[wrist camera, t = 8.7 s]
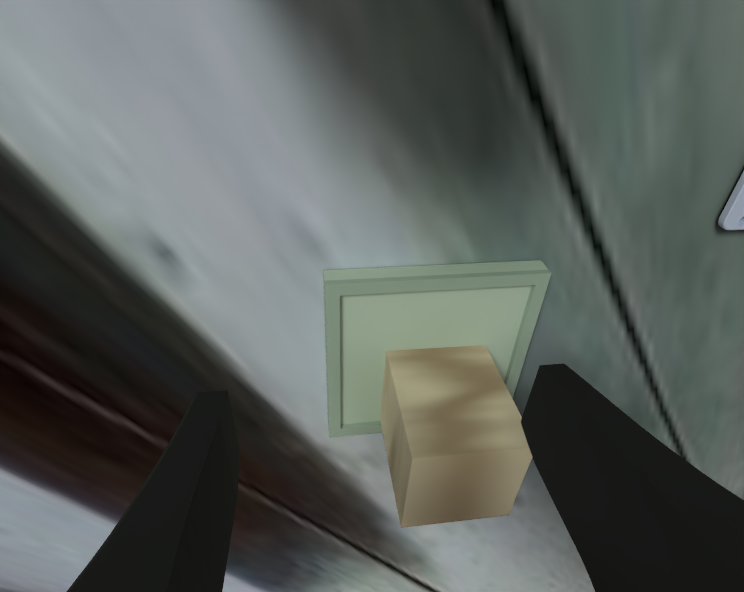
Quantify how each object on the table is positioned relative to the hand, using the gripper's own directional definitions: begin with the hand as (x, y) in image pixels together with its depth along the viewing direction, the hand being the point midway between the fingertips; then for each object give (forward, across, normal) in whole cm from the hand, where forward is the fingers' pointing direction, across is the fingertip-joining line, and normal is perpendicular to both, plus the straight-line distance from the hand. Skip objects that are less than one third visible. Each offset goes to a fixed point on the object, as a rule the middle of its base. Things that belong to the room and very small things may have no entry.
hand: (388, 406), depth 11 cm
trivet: (+10, -4, +8) cm, 13 cm away
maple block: (+9, -4, +9) cm, 14 cm away
